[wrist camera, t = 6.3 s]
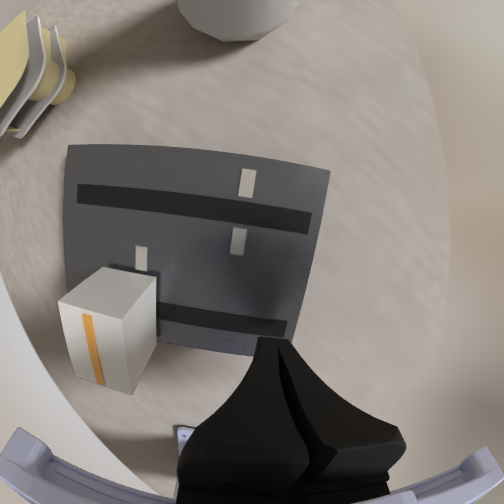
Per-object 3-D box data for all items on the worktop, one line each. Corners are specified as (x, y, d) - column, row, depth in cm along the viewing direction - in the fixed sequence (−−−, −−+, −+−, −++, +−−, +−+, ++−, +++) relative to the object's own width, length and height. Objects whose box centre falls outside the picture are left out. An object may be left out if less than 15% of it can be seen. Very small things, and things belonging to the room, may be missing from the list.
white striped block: (156, 344, 13) (131, 396, 9) (108, 332, 13) (74, 377, 9) (156, 277, 12) (120, 320, 8) (102, 266, 12) (56, 302, 8)
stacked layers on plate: (10, 72, 10) (-34, 62, 5) (94, 6, 10) (56, -27, 4) (20, 177, 13) (-35, 187, 8) (113, 113, 12) (55, 94, 7)
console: (282, 339, 16) (286, 361, 14) (87, 303, 15) (71, 318, 13) (319, 170, 13) (331, 171, 11) (87, 146, 12) (66, 144, 10)
